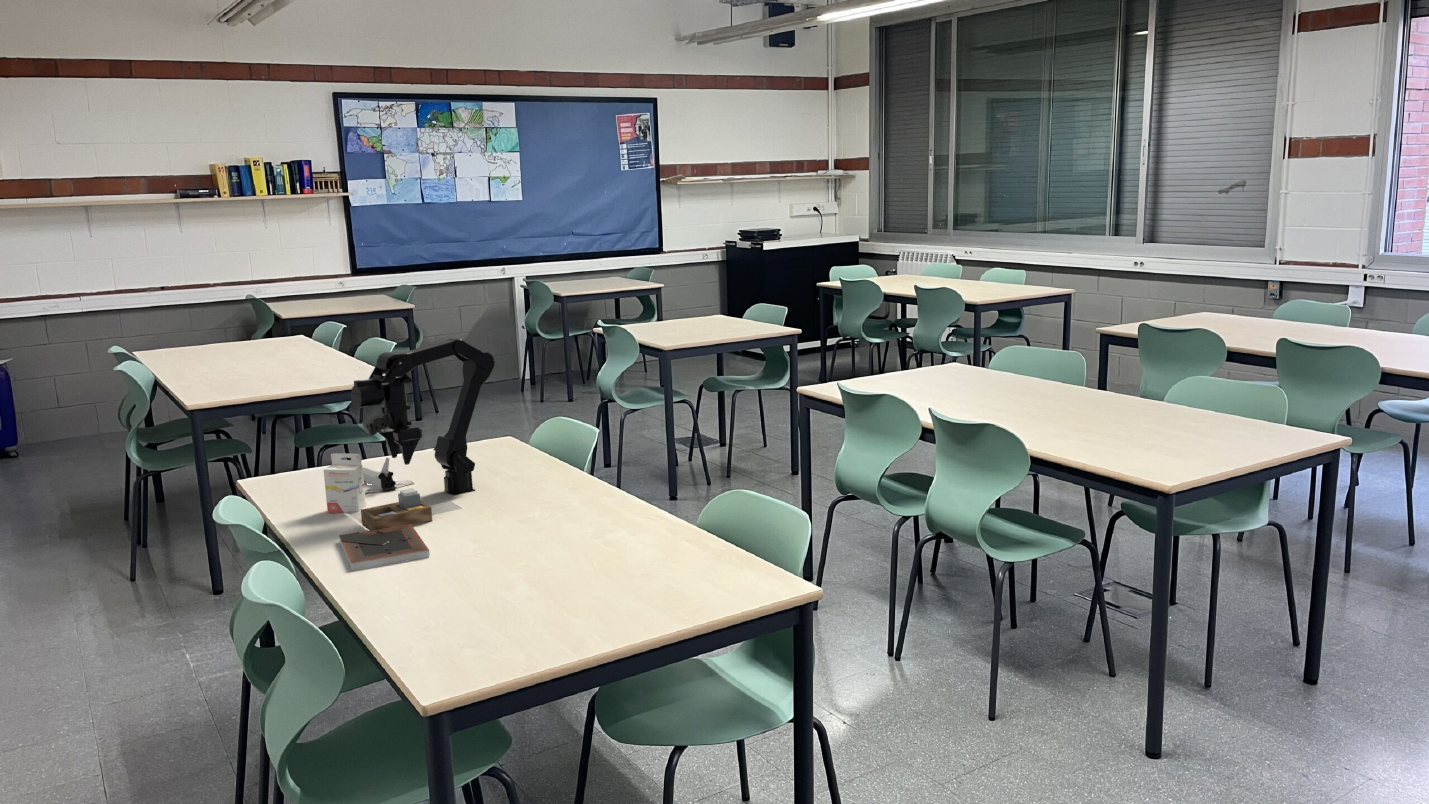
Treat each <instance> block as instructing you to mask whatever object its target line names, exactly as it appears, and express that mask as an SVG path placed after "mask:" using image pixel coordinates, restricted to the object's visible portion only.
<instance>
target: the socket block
mask: <svg viewBox="0 0 1429 804" xmlns="http://www.w3.org/2000/svg"><path fill="white" fill-rule="evenodd" d="M420 503H421V506H417V507H413V508H408V509H407V510H402V509H400V508H399V501H398V502H397V501H396V502H392V503H387V504H382V505H377V506H373V507H372V506H371V507H367V508H363V509H362V510H360V517H361V525H362V527H364V528H365V529H367V531H371V530H377V529H383V528H389V527H395V526H401V525H408V524H411V525H412V526H413V527H414V526H417V525H421V524H426V523H431V522H433V515H432V510H431V507H430V505H428V504H426V503H425V502H423V501H421V500H420Z"/></svg>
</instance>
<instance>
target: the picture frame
mask: <svg viewBox="0 0 1429 804" xmlns="http://www.w3.org/2000/svg"><path fill="white" fill-rule="evenodd" d="M338 536H339V537H338V539H339V543H340V545H341V549H342V550H343V553H344V556H345V558H346V559H347V562H348V564H349V567H350V568H351V571H354V572H355V571H359V570H363V569H370V568H375V567H376V568H377V567H380V566H381V565H382V566H387V565H392V563H393V564H399V563H402V562H401V561H404V562H407V561H406V560H410V561H413V560H412V559H416V560H419V559H418V558H421V559H427V558H430V557H431V556H430V549H429V548H428V546H427V545H426V543H425V542H424V540H423V539H422V538H421V536H420V535H419V533H418V532H417V530H416V529H415V527H414V525H413V526H412V525H411V524H408V525H401V526H395V527H389V528H383V529H377V530H371V531H369V530H366V531H361V532H360V531H355V532H350V533H343V534H339V535H338ZM429 556H430V557H429ZM426 557H427V558H426ZM398 562H399V563H398ZM386 564H387V565H386ZM382 566H381V567H382Z"/></svg>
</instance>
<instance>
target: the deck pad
mask: <svg viewBox="0 0 1429 804" xmlns="http://www.w3.org/2000/svg"><path fill="white" fill-rule="evenodd" d="M429 506H430V507H431V510H432V516H433V515H439V514H443V513H447V512H451V511H457V510H461V509H463V507H462V506H460V505H458V504H456V503H454V502H452V501H445V502H440V503H436V504H431V505H429Z"/></svg>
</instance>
